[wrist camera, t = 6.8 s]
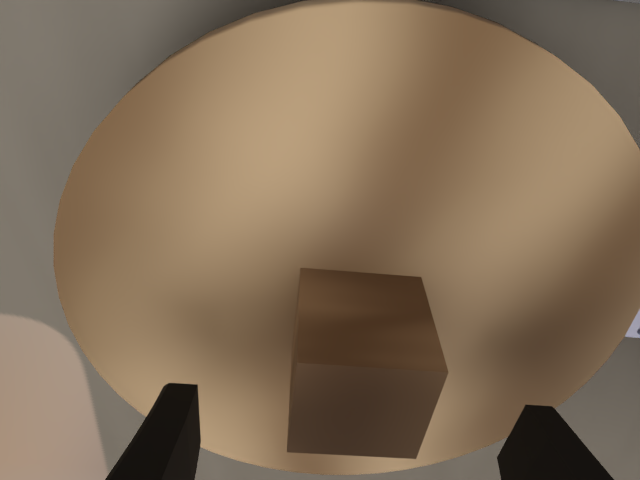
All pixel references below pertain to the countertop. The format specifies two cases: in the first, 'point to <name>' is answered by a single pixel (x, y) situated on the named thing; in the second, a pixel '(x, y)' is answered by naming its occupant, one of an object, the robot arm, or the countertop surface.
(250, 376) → the lid
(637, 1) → the mat
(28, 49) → the countertop surface
